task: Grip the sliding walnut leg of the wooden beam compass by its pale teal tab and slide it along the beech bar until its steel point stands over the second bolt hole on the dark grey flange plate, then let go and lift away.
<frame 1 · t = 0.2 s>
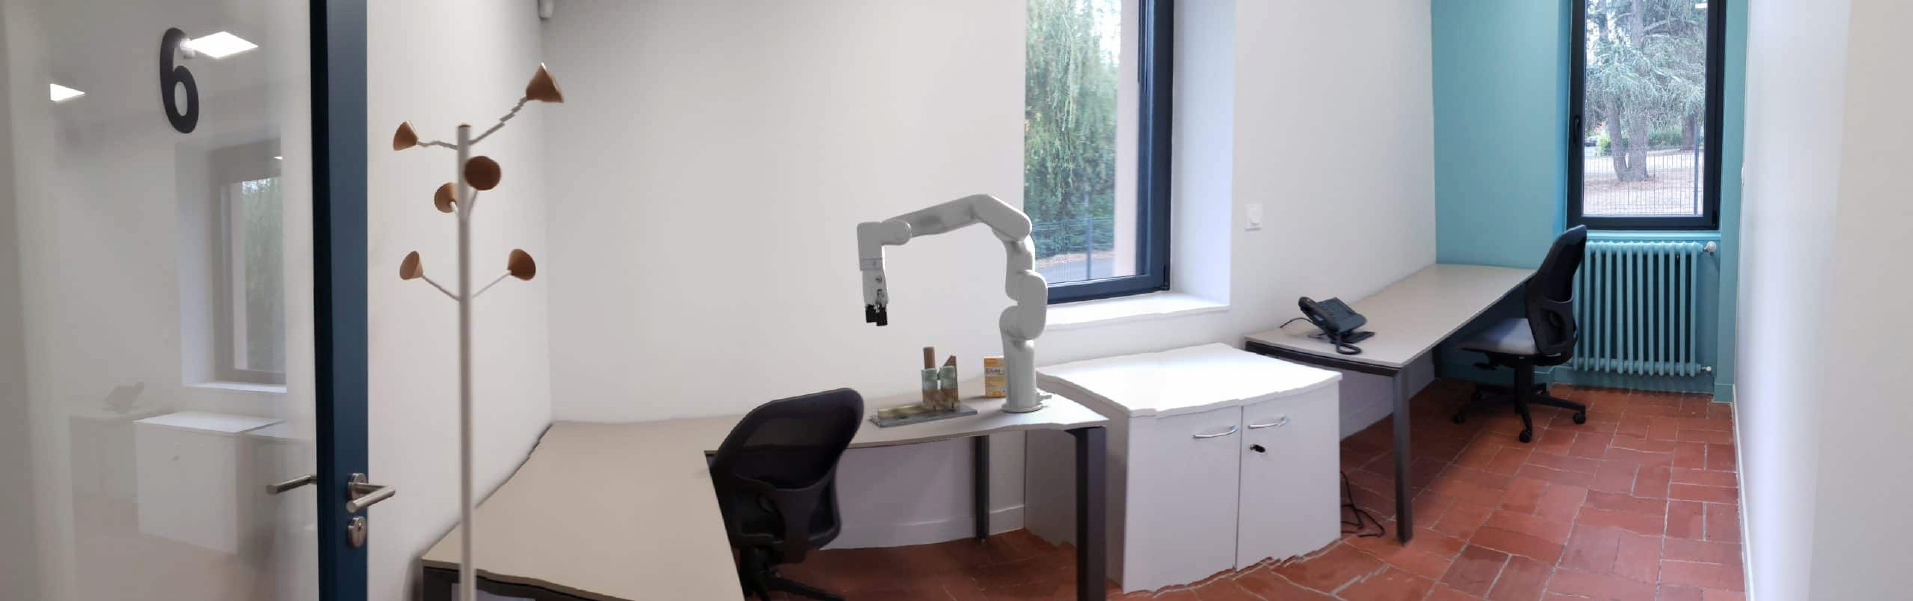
hand: (876, 324, 302), 31 cm above the table, tool pointing down, fingers open, 9 cm apart
sliding leg: (930, 389, 320), point 8 cm above the table, slide at 0.0 cm
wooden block: (941, 401, 340), on the table
supplement box: (998, 396, 342), on the table
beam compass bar: (919, 414, 322), resting on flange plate
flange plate: (923, 416, 319), on the table
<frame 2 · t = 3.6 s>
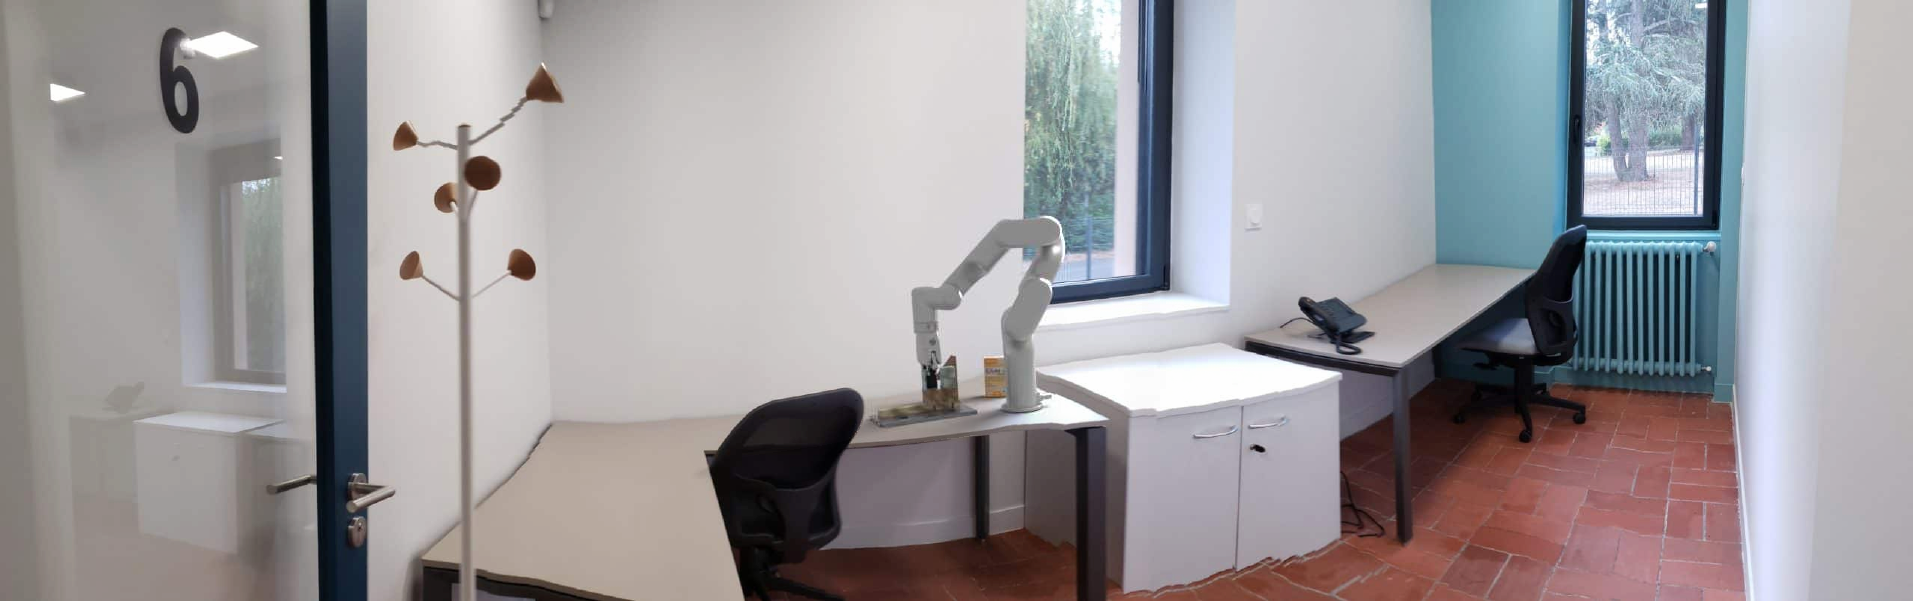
hand: (929, 386, 319), 9 cm above the table, tool pointing down, fingers closed on sliding leg, 2 cm apart
sliding leg: (930, 389, 320), point 8 cm above the table, slide at 0.0 cm, touching gripper
everything else where it was.
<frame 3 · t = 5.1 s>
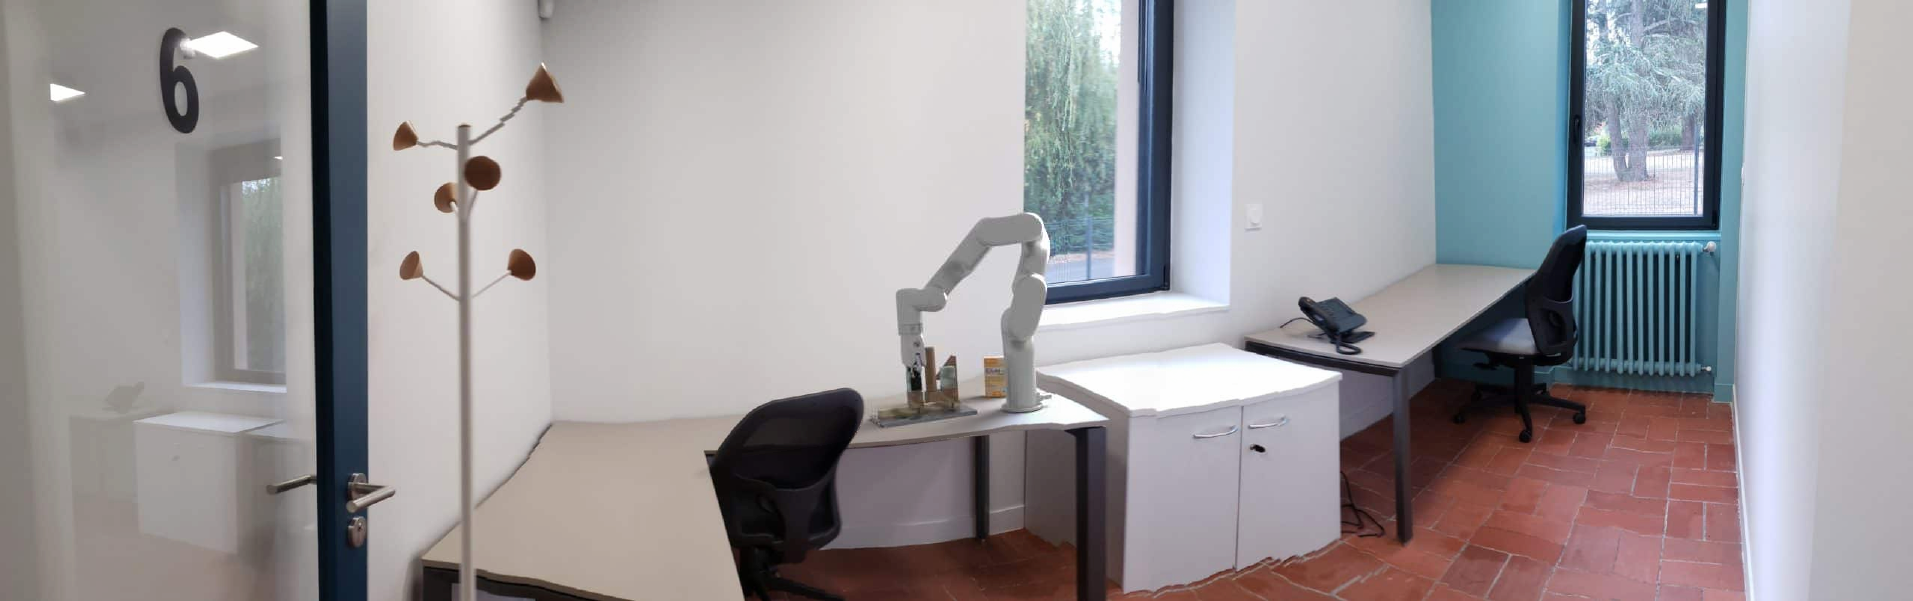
hand: (914, 388, 318), 9 cm above the table, tool pointing down, fingers closed on sliding leg, 2 cm apart
sliding leg: (914, 391, 318), point 8 cm above the table, slide at 5.0 cm, touching gripper
everything else where it was.
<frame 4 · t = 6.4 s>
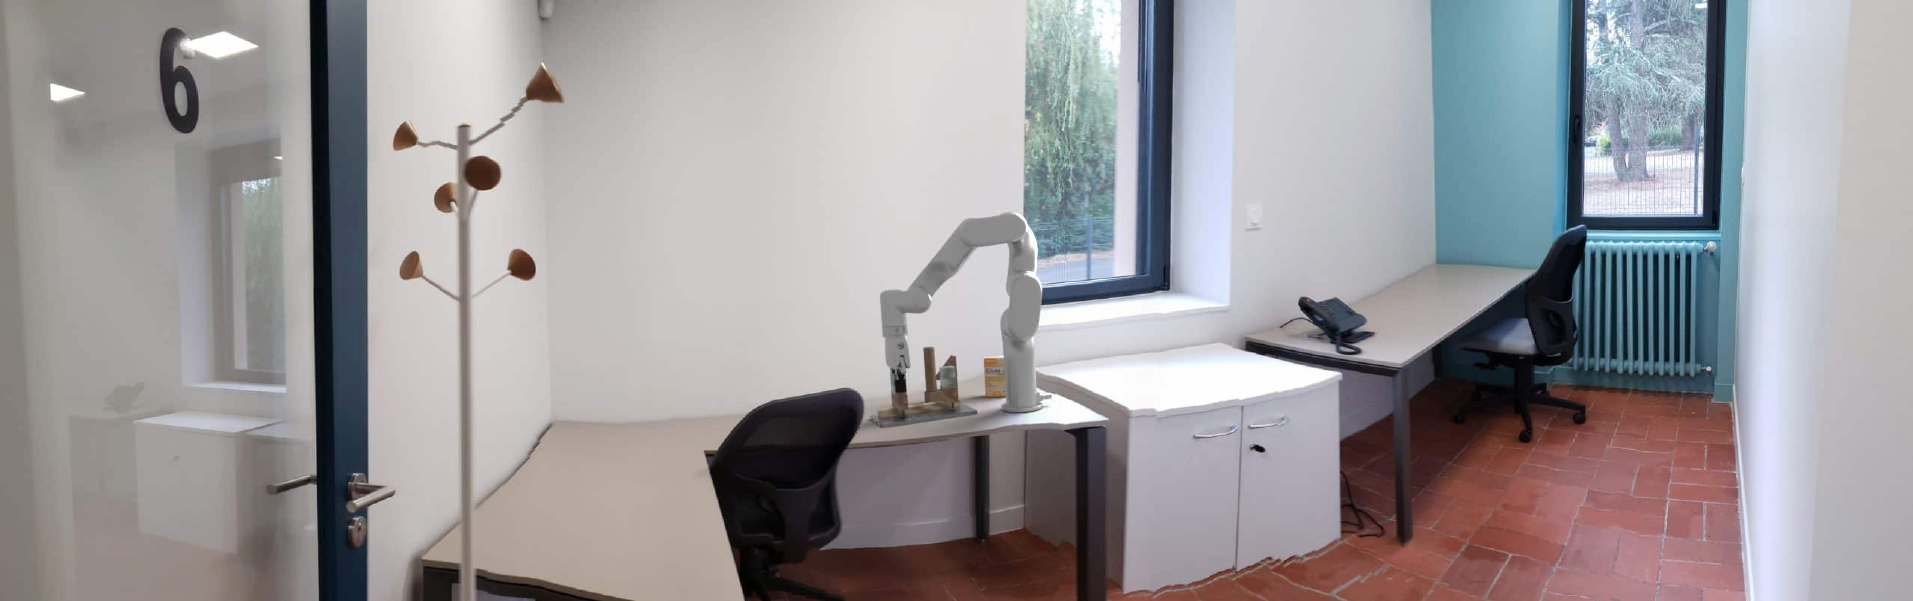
hand: (899, 390, 316), 9 cm above the table, tool pointing down, fingers closed on sliding leg, 2 cm apart
sliding leg: (899, 393, 316), point 8 cm above the table, slide at 10.0 cm, touching gripper
everything else where it was.
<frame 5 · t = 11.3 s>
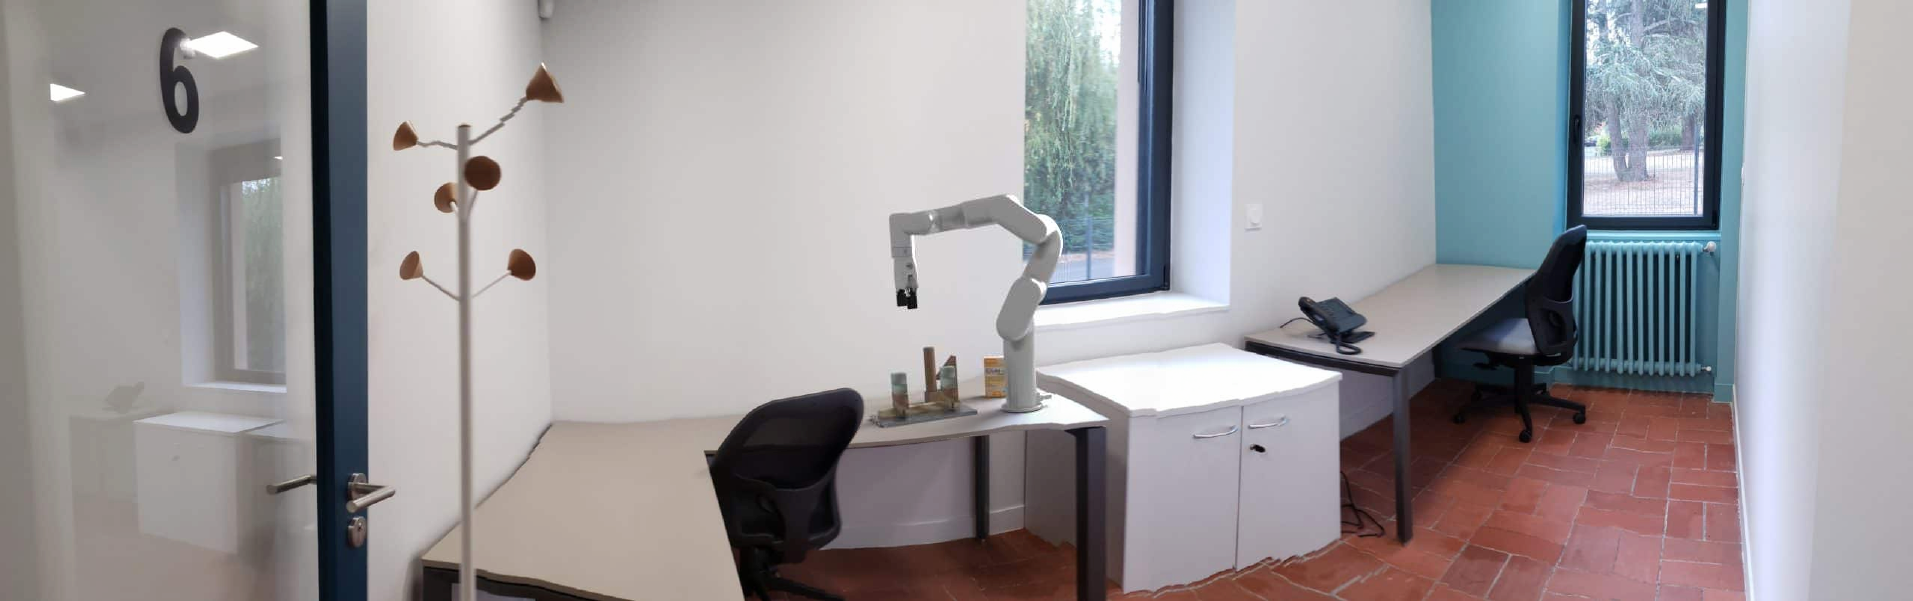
hand: (907, 307, 326), 32 cm above the table, tool pointing down, fingers open, 9 cm apart
sliding leg: (899, 393, 316), point 8 cm above the table, slide at 9.8 cm
everything else where it was.
at the end: sliding leg slide at 9.8 cm; the gripper is holding nothing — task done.
